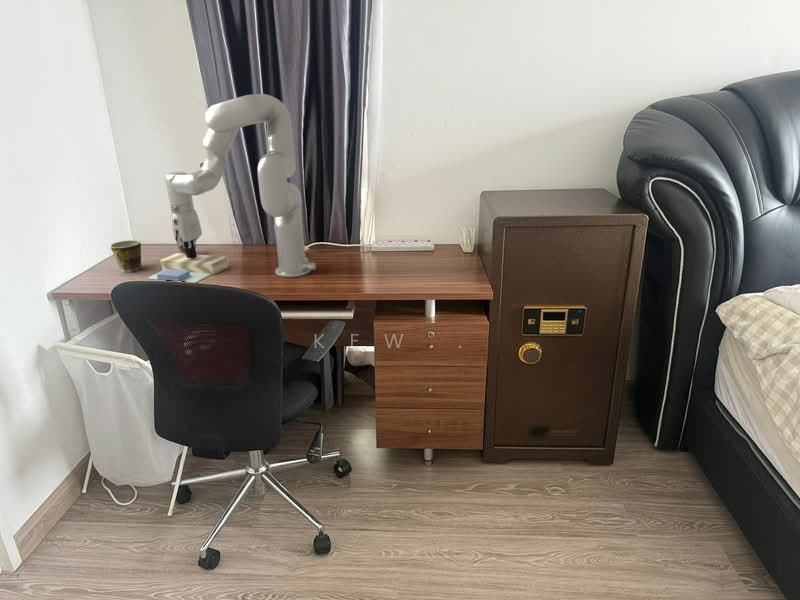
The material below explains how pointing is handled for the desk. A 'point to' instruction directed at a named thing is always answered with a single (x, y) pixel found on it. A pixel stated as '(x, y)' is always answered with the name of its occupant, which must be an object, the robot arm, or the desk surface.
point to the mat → (193, 277)
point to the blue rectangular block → (173, 275)
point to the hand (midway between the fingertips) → (191, 257)
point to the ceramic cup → (127, 255)
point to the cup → (182, 248)
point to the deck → (195, 263)
